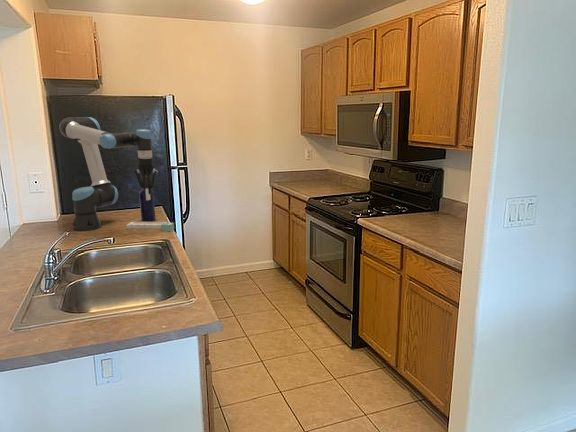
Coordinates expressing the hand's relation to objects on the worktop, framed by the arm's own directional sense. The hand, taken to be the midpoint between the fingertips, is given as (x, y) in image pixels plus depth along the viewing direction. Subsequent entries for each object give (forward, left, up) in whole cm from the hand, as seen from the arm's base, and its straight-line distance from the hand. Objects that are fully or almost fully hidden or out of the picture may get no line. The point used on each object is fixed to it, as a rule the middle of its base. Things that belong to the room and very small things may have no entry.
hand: (148, 199), depth 243 cm
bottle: (-10, +22, -18) cm, 30 cm away
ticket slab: (-5, +7, -18) cm, 20 cm away
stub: (+10, 0, -18) cm, 21 cm away
